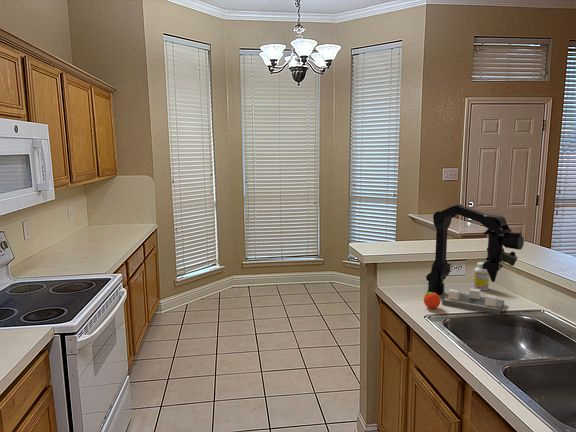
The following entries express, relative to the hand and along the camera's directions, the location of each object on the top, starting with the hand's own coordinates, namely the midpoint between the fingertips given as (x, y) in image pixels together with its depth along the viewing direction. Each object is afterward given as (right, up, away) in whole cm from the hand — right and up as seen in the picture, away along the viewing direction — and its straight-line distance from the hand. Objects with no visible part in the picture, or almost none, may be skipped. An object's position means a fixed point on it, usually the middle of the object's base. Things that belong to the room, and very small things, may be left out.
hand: (493, 281), depth 185 cm
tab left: (-14, -9, +7) cm, 18 cm away
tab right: (-2, -10, -1) cm, 10 cm away
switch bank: (-6, -11, +6) cm, 14 cm away
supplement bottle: (+7, -8, +28) cm, 30 cm away
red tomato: (-26, -12, +3) cm, 29 cm away
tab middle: (-5, -8, +8) cm, 13 cm away
